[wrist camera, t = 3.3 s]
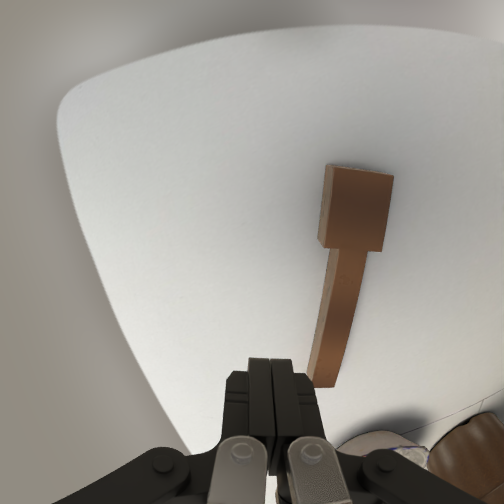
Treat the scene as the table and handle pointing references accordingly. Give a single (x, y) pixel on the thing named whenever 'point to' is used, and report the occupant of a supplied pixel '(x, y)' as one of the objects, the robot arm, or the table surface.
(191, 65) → the table surface
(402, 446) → the bowl
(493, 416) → the plant pot
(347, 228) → the wooden mallet
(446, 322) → the table surface
